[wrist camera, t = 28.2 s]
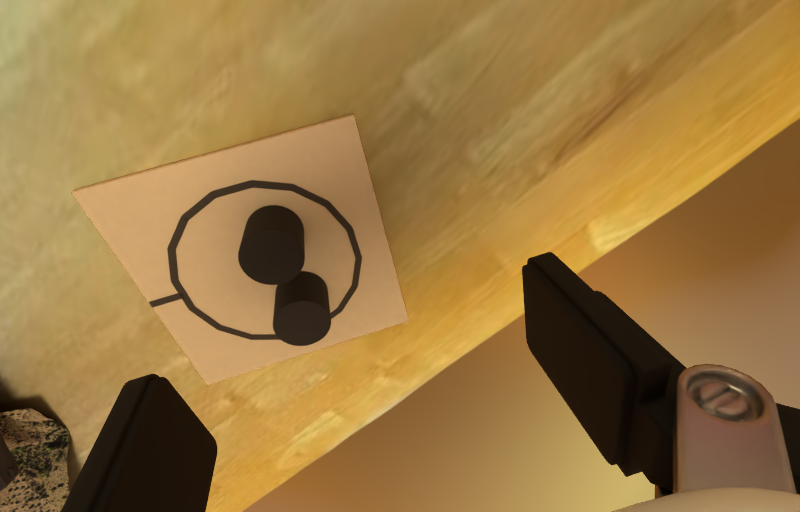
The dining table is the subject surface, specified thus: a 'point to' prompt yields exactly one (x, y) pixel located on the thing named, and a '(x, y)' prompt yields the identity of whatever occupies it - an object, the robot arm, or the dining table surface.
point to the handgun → (6, 465)
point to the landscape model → (35, 462)
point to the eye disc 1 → (272, 245)
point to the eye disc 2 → (302, 310)
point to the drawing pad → (222, 234)
